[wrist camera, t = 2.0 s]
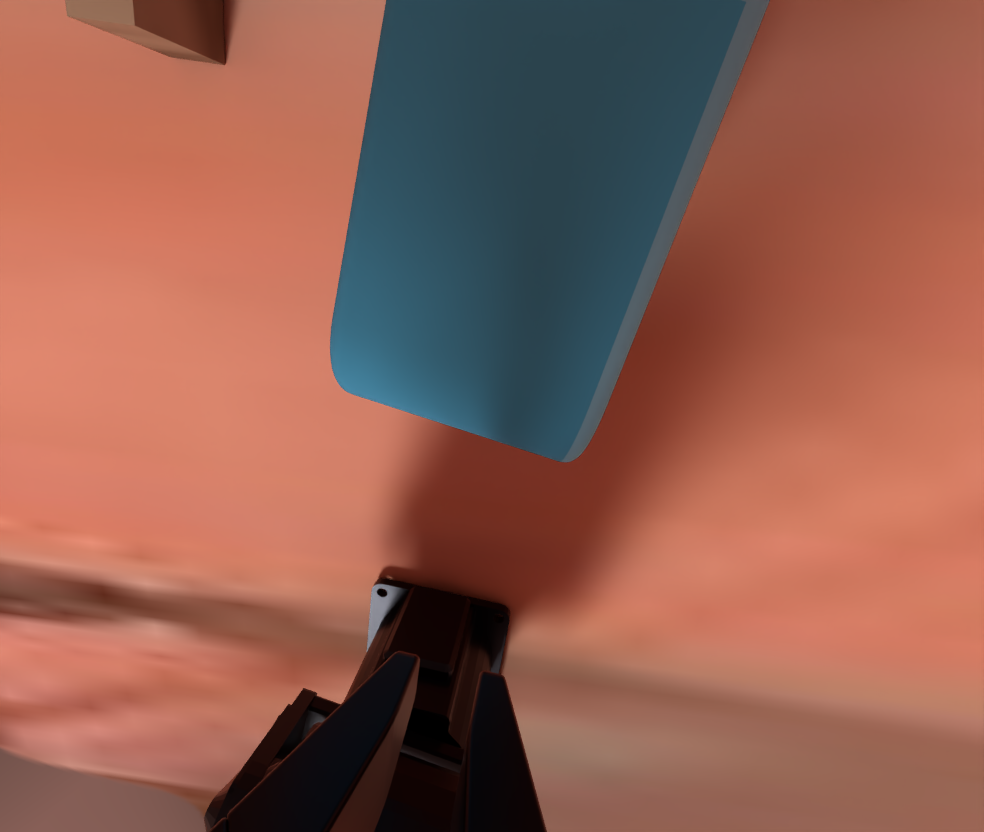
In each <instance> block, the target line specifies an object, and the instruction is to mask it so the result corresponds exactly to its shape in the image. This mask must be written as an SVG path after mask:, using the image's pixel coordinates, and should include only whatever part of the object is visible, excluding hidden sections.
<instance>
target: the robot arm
mask: <svg viewBox="0 0 984 832" xmlns="http://www.w3.org/2000/svg"><path fill="white" fill-rule="evenodd" d="M380 588H383V589H385V590H386V591H387V592H385V591H382V590H381V589H380ZM496 614H500V615H502V616H503V617H498V616H496ZM509 621H510V610H509V608H508V607H506V606H505V605H502V604H499V603H494V602H490V601H485V600H481V599H476V598H472V597H467V596H462V595H458V594H453V593H449V592H444V591H440V590H435V589H431V588H426V587H422V586H417V585H413V584H408V583H404V582H399V581H394V580H390V579H384V578H381V579H378V580H377V581H376V582H375V584H374V586H373V588H372V593H371V606H370V618H369V631H368V644H367V653H366V656H365V658H364V660H363V662H362V664H361V666H360V668H359V670H358V673H357V675H356V677H355V679H354V681H353V683H352V685H351V687H350V690H349V692H348V694H347V696H346V698H345V700H344V702H343V703H342V704H338V703H336V702H333V701H330V700H327V699H324V698H322V697H319V696H317V693H316V692H313V691H311V690H308V689H305V688H303V690H302V691H301V693H300V694H299V695H298V697H297V698H296V700H295V701H294V702H293V704H292V705H290V704H288V705H287V707H286V708H285V710H284V711H283V712H282V714H281V715H279V716H278V718H277V720H276V721H275V723H274V725H273V726H272V728H271V729H270V730H269V732H268V733H267V735H266V736H265V737H264V739H263V740H262V741H261V743H260V744H259V746H258V747H257V748H256V750H255V751H254V753H253V754H252V755H251V757H250V758H249V760H248V761H247V762H246V764H245V765H244V766H243V768H242V769H241V771H240V772H239V773H238V774H237V775H236V776H235V777H234V778H233V779H232V780H231V781H230V782H229V783H228V784H227V785H226V786H225V787H224V788H223V789H222V790H221V791H220V792H219V793H218V794H217V795H216V796H215V797H214V799H213V800H212V802H211V804H210V805H209V807H208V809H207V812H206V814H205V817H204V822H205V827H206V832H547V830H546V827H545V823H544V819H543V816H542V812H541V808H540V805H539V801H538V797H537V793H536V790H535V786H534V782H533V779H532V775H531V771H530V768H529V764H528V760H527V757H526V753H525V749H524V746H523V742H522V738H521V734H520V731H519V727H518V723H517V720H516V716H515V712H514V709H513V705H512V701H511V698H510V694H509V690H508V686H507V683H506V680H505V677H504V676H503V675H501V674H499V669H500V664H501V660H502V655H503V650H504V645H505V640H506V635H507V631H508V626H509Z"/></svg>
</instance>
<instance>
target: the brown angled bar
mask: <svg viewBox="0 0 984 832" xmlns="http://www.w3.org/2000/svg"><path fill="white" fill-rule="evenodd" d="M65 3H66V11H67V16H68V17H71V18H73V19H76V20H78V21H81V22H83V23H86V24H88V25H91V26H93V27H96V28H98V29H101V30H103V31H106V32H108V33H111V34H114V35H116V36H119V37H121V38H124V39H126V40H129V41H131V42H134V43H136V44H139V45H141V46H144V47H146V48H149V49H151V50H154V51H156V52H159V53H161V54H164V55H166V56H169V57H174V58H180V59H187V60H194V61H201V62H208V63H215V64H222V65H225V51H224V22H223V0H65Z"/></svg>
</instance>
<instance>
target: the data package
mask: <svg viewBox="0 0 984 832" xmlns="http://www.w3.org/2000/svg"><path fill="white" fill-rule="evenodd" d="M769 1H770V0H386V5H385V11H384V17H383V23H382V29H381V35H380V41H379V47H378V52H377V58H376V64H375V70H374V76H373V82H372V88H371V94H370V100H369V106H368V112H367V117H366V123H365V129H364V135H363V141H362V147H361V153H360V159H359V165H358V171H357V177H356V183H355V188H354V194H353V200H352V206H351V212H350V218H349V224H348V230H347V236H346V242H345V248H344V254H343V259H342V265H341V271H340V277H339V283H338V289H337V295H336V301H335V307H334V313H333V319H332V326H331V337H330V355H331V364H332V369H333V373H334V376H335V378H336V380H337V382H338V384H339V385H340V386H341V387H342V388H343V389H344V390H345V391H347V392H348V393H351V394H353V395H356V396H359V397H362V398H366V399H369V400H372V401H375V402H378V403H381V404H384V405H387V406H390V407H393V408H396V409H399V410H402V411H405V412H409V413H412V414H415V415H418V416H421V417H424V418H427V419H430V420H433V421H436V422H439V423H442V424H445V425H448V426H452V427H455V428H458V429H461V430H464V431H467V432H470V433H473V434H476V435H479V436H482V437H485V438H488V439H491V440H495V441H498V442H501V443H504V444H507V445H510V446H513V447H516V448H519V449H522V450H525V451H528V452H531V453H534V454H538V455H541V456H544V457H547V458H550V459H553V460H556V461H559V462H571V461H573V460H575V459H576V458H578V457H579V456H580V455H581V454H582V453H583V451H584V450H585V449H586V447H587V446H588V444H589V443H590V441H591V439H592V437H593V435H594V434H595V432H596V430H597V427H598V425H599V423H600V421H601V419H602V417H603V414H604V412H605V410H606V407H607V405H608V402H609V400H610V397H611V395H612V392H613V390H614V387H615V385H616V383H617V380H618V378H619V375H620V373H621V370H622V368H623V365H624V363H625V360H626V358H627V355H628V353H629V350H630V348H631V345H632V343H633V340H634V338H635V335H636V333H637V330H638V328H639V325H640V323H641V320H642V318H643V315H644V313H645V310H646V308H647V305H648V303H649V300H650V298H651V295H652V293H653V290H654V288H655V285H656V283H657V280H658V278H659V275H660V273H661V270H662V268H663V265H664V263H665V260H666V258H667V255H668V253H669V251H670V248H671V246H672V243H673V241H674V238H675V236H676V233H677V231H678V228H679V226H680V223H681V221H682V218H683V216H684V213H685V211H686V208H687V206H688V203H689V201H690V198H691V196H692V193H693V191H694V188H695V186H696V183H697V181H698V178H699V176H700V173H701V171H702V168H703V166H704V163H705V161H706V158H707V156H708V153H709V151H710V148H711V146H712V143H713V141H714V138H715V136H716V133H717V131H718V128H719V126H720V123H721V121H722V119H723V116H724V114H725V111H726V109H727V106H728V104H729V101H730V99H731V96H732V94H733V91H734V89H735V86H736V84H737V81H738V79H739V76H740V74H741V71H742V69H743V66H744V64H745V61H746V59H747V56H748V54H749V51H750V49H751V46H752V44H753V41H754V39H755V36H756V34H757V31H758V29H759V26H760V24H761V21H762V19H763V16H764V14H765V11H766V9H767V6H768V4H769Z"/></svg>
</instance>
